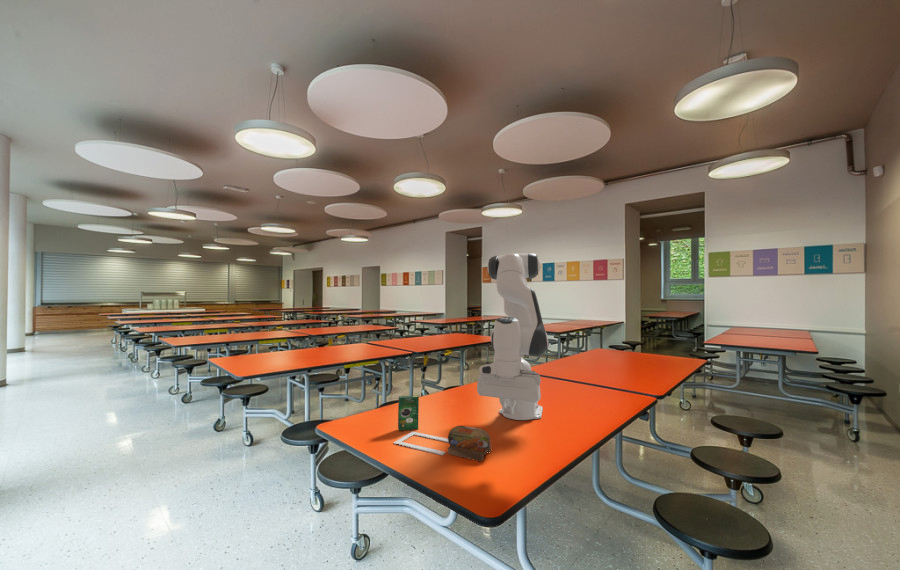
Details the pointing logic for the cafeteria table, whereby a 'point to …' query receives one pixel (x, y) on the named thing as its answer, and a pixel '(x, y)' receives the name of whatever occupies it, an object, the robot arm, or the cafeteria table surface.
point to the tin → (470, 438)
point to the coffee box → (408, 412)
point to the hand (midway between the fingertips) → (508, 412)
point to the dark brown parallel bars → (466, 453)
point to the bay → (421, 446)
